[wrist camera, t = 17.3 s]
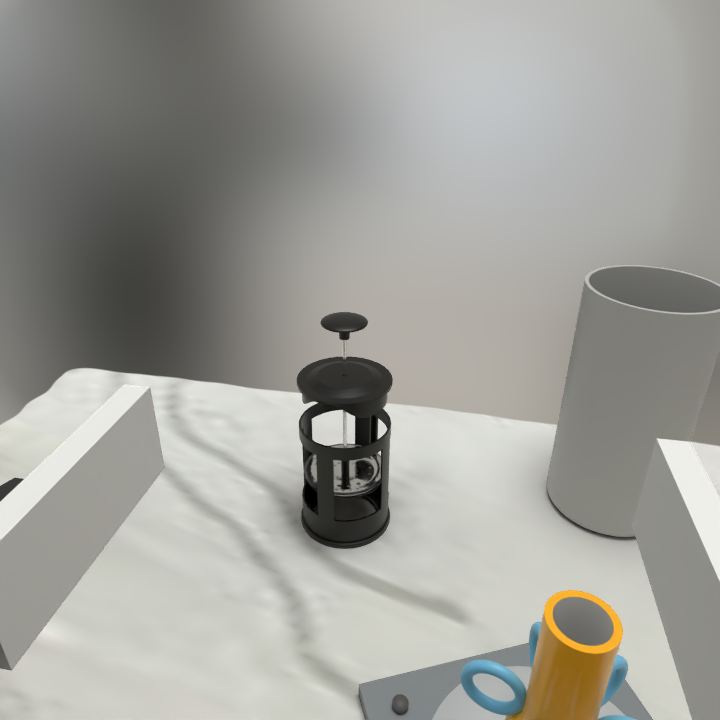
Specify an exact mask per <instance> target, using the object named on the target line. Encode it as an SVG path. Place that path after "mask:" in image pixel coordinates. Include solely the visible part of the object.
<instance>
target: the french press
mask: <svg viewBox="0 0 720 720" xmlns="http://www.w3.org/2000/svg"><path fill="white" fill-rule="evenodd" d="M367 324H368V321H367V319H366V318H365V317H363V316H362V315H359V314H356V313H350V312H339V313H333V314H330V315H327V316H325V317H324V318H323V319H322V320H321V325H322V327H324V328H325V329H327V330H329V331H333V332H339V338H340V339H341V340H343V357H333V358H327V359H323V360H319V361H316V362H314V363H311V364H310V365H308V366H306V367H305V368H303V369H302V370H301V371H300V373H299V374H298V377H297V386H298V389H299V391H300V392H301V393H302V401H303V403H304V404H306V403H309V402H313V401H315V402H318V403H317V404H315V405H313V406H311V407H310V408H308V409H307V410H306V411H305V412H304V413H303V414H302V416H301V418H300V420H299V436H300V440H301V443H302V444H303V465H304V488H303V495H302V496H303V509H302V515H301V519H302V524H303V527H304V528H305V530H306V532H307V533H308V534H309V535H310V536H311V537H312V538H313V539H315V540H316V541H318V542H320V543H322V544H324V545H327V546H331V547H336V548H354V547H359V546H363V545H366V544H368V543H371V542H372V541H374V540H376V539H377V538H378V537H380V536H381V535H382V534H383V532H384V531H385V530H386V528H387V526H388V524H389V519H390V512H389V507H388V495H389V492H388V478H389V449H390V435H391V421H390V417H389V415H388V414H387V413H386V412H385V410H384V409H383V408H384V406H385V405H386V402H387V393H388V392H389V390H390V389H391V387H392V380H393V379H392V375H391V374H390V372H389V370H387V369H386V368H385V367H384V366H382V365H381V364H379V363H377V362H374V361H371V360H368V359H364V358H358V357H346V340H348V339H349V334H350V332H355V331H359V330H361V329H363V328H365V327H366V326H367ZM334 410H343V444H336V445H331V446H324V445H322V444H319V443H316V442H315V441H313V440H312V418H314V417H315V416H317V415H320V414H322V413H325V412H329V411H334ZM347 412H348V413H349V414H351V415H353V416H355V444H347ZM378 418H379V419H380V420H381V421H382V422H383V423H384V424H385V425H386V427H387V431H386V433H385V434H384V435H383V436H382V437H381V438H379V439H378V440H377V436H378ZM379 451H381V456H380V455H379V454H378V452H379ZM360 496H364V497H366V498H368V499H369V500H370V501H372V502H373V503H374V505H375V506H376V508H377V511H376V512H374V513H372V514H371V515H369V516H366V517H363V518H360V519H355V520H344V521H343V520H335V515H334V498H339V499H347V498H356V497H360ZM317 504H318V513H316V512H314V509H315V507H316V506H317Z"/></svg>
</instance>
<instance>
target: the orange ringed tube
mask: <svg viewBox="0 0 720 720" xmlns="http://www.w3.org/2000/svg"><path fill="white" fill-rule="evenodd" d="M622 635H623V629H622V624H621V621H620V619H619V617H618V616H617V614H616V613H615V611H614V610H613V609H612V608H611V607H610V606H609V605H608V604H607V603H605V602H604V601H602V600H601V599H599V598H598V597H596V596H594V595H591V594H589V593H585V592H581V591H575V590H568V591H562V592H559V593H556V594H554V595H553V596H552V597H550V598H549V600H548V601H547V603H546V605H545V609H544V614H543V618H542V623H541V622H536V623H534V624H533V625H532V627H531V630H530V637H529V655H530V664H531V670H532V671H531V675H530V680H529V685H528V689H527V690H526V688H525V686H524V684H523V682H522V681H521V680H520V678H519V677H518V676H517V675H516V674H515V673H513V672H512V671H511V670H509V669H508V668H506V667H505V666H503V665H501V664H499V663H496V662H493V661H489V660H474V661H471V662H469V663H467V664H466V665H465V666H464V667H463V669H462V671H461V684H462V686H463V689H464V690H465V692H466V694H467V695H468V696H469V697H470V698H471V699H472V700H473V701H474V702H475V703H476V704H478V705H479V706H481V707H482V708H484V709H486V710H488V711H490V712H493V713H496V714H500V715H506V718H505V720H637V719H634V718H631V717H627V716H622V715H607V716H603V717H601V718H599V719H598V715H599V712H600V709H601V707H602V706H603V705H605V704H606V703H607V702H608V701H609V700H610V699H611V698H612V697H613V696H614V694H615V693H616V692H617V691H618V689H619V688H620V686H621V685H622V683H623V681H624V679H625V677H626V675H627V671H628V664H627V661H626V660H625V659H624V658H623V657H622V656H619V655H617V652H618V649H619V646H620V642H621V639H622ZM481 673H483V674H489V675H492V676H495V677H497V678H499V679H501V680H502V681H504V682H505V683H506V684H508V685H509V686H510V687H511V689H512V690H513V692H514V694H515V698H514V699H513V700H511V701H499V700H495V699H493V698H491V697H489V696H487V695H485V694H484V693H482V692H481V691H480V690H479V689H478V688H477V687H476V685H475V684H474V682H473V676H474V675H476V674H481ZM611 673H612V674H611ZM610 675H611V676H610Z"/></svg>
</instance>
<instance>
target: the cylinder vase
mask: <svg viewBox="0 0 720 720" xmlns="http://www.w3.org/2000/svg"><path fill="white" fill-rule="evenodd" d="M719 349H720V285H719V284H718V283H715V282H713V281H711V280H709V279H706V278H703V277H700V276H697V275H694V274H690V273H686V272H682V271H678V270H673V269H667V268H660V267H652V266H639V265H619V266H609V267H604V268H599V269H596V270H593V271H591V272H590V273H588V274H587V275H586V277H585V282H584V287H583V292H582V298H581V303H580V308H579V313H578V319H577V325H576V330H575V335H574V341H573V345H572V351H571V357H570V361H569V367H568V372H567V377H566V383H565V388H564V394H563V399H562V404H561V410H560V415H559V420H558V425H557V430H556V436H555V441H554V446H553V452H552V457H551V462H550V468H549V473H548V478H547V490H548V493H549V496H550V498H551V500H552V502H553V503H554V505H555V506H556V507H557V508H558V509H559V511H561V512H562V513H563V514H564V515H565V516H566V517H567V518H569V519H570V520H572V521H573V522H575V523H577V524H578V525H580V526H582V527H584V528H587V529H589V530H592V531H594V532H598V533H601V534H605V535H610V536H617V537H634V536H635V533H634V530H633V527H632V524H633V520H634V517H635V513H636V509H637V506H638V502H639V499H640V495H641V492H642V488H643V485H644V481H645V478H646V474H647V471H648V467H649V463H650V460H651V456H652V453H653V449H654V446H655V442H656V439H657V438H658V439H668V440H678V441H687V442H690V441H691V438H692V435H693V431H694V429H695V425H696V422H697V419H698V416H699V413H700V409H701V406H702V403H703V400H704V397H705V394H706V390H707V387H708V384H709V381H710V378H711V375H712V371H713V368H714V365H715V362H716V359H717V356H718V352H719Z"/></svg>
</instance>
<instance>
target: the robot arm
mask: <svg viewBox="0 0 720 720" xmlns="http://www.w3.org/2000/svg"><path fill="white" fill-rule="evenodd" d="M164 468H165V467H164V461H163V456H162V450H161V445H160V439H159V434H158V428H157V423H156V417H155V412H154V406H153V400H152V395H151V389H150V387H145V386H135V385H126V384H124V385H123V386H122V387H121V388H120V389H119V390H118V391H117V392H116V393H115V394H114V395H113V396H112V397H110V398H109V399H108V400H107V401H106V402H105V403H104V404H103V405H102V406H101V407H100V408H99V409H98V410H97V411H96V412H95V413H94V414H92V415H91V416H90V417H89V418H88V419H87V420H86V421H85V422H84V423H83V424H82V425H81V426H80V427H79V428H78V429H77V430H76V431H74V432H73V433H72V434H71V435H70V436H69V437H68V438H67V439H66V440H65V441H64V442H63V443H62V444H61V445H60V446H59V447H58V448H57V449H55V450H54V451H53V452H52V453H51V454H50V455H49V456H48V457H47V458H46V459H45V460H44V461H43V462H42V463H41V464H40V465H39V466H37V467H36V468H35V469H34V470H33V471H32V472H31V473H30V474H29V475H28V476H27V477H26V478H25V479H20V478H14V479H12V480H10V481H8V482H6V483H5V484H3V485H1V486H0V668H1V669H7V670H12V669H13V668H14V667H15V665H16V664H17V663H18V661H19V660H20V659H21V657H22V656H23V655H24V653H25V652H26V651H27V649H28V648H29V647H30V645H31V644H32V643H33V641H34V640H35V639H36V637H37V636H38V635H39V633H40V632H41V631H42V630H43V628H44V627H45V626H46V624H47V623H48V622H49V620H50V619H51V618H52V616H53V615H54V614H55V612H56V611H57V610H58V608H59V607H60V606H61V604H62V603H63V602H64V600H65V599H66V598H67V596H68V595H69V594H70V592H71V591H72V590H73V588H74V587H75V586H76V584H77V583H78V582H79V580H80V579H81V578H82V576H83V575H84V574H85V572H86V571H87V570H88V569H89V567H90V566H91V565H92V563H93V562H94V561H95V559H96V558H97V557H98V555H99V554H100V553H101V551H102V550H103V549H104V547H105V546H106V545H107V543H108V542H109V541H110V539H111V538H112V537H113V535H114V534H115V533H116V531H117V530H118V529H119V527H120V526H121V525H122V523H123V522H124V521H125V519H126V518H127V517H128V515H129V514H130V513H131V511H132V510H133V509H134V508H135V506H136V505H137V504H138V502H139V501H140V500H141V498H142V497H143V496H144V494H145V493H146V492H147V490H148V489H149V488H150V486H151V485H152V484H153V482H154V481H155V480H156V478H157V477H158V476H159V474H160V473H161V472H162V470H163V469H164ZM632 527H633V530H634V533H635V536H636V540H637V543H638V546H639V549H640V552H641V556H642V559H643V562H644V565H645V569H646V572H647V575H648V578H649V582H650V585H651V588H652V591H653V594H654V598H655V601H656V604H657V607H658V611H659V614H660V617H661V620H662V623H663V627H664V630H665V633H666V636H667V640H668V643H669V646H670V649H671V652H672V656H673V659H674V662H675V665H676V669H677V672H678V675H679V678H680V682H681V685H682V688H683V691H684V694H685V698H686V701H687V704H688V707H689V711H690V714H691V717H692V720H720V497H719V495H718V493H717V491H716V489H715V488H714V486H713V484H712V482H711V480H710V478H709V476H708V474H707V472H706V470H705V468H704V467H703V465H702V463H701V461H700V459H699V457H698V455H697V453H696V451H695V449H694V447H693V445H692V444H691V442H687V441H678V440H668V439H658V438H657V439H656V442H655V446H654V449H653V453H652V456H651V460H650V463H649V467H648V471H647V474H646V478H645V481H644V485H643V488H642V492H641V495H640V499H639V502H638V506H637V509H636V513H635V517H634V520H633V524H632Z"/></svg>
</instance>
